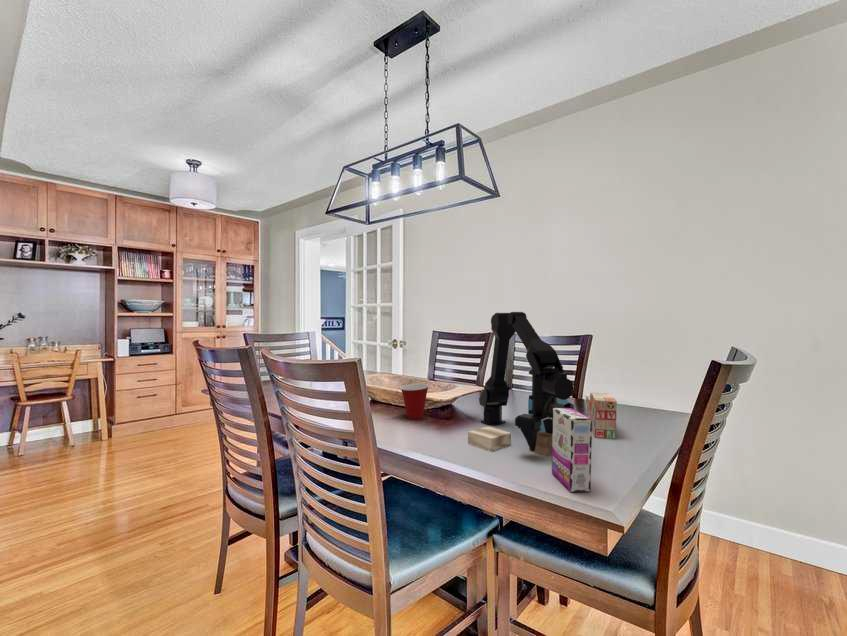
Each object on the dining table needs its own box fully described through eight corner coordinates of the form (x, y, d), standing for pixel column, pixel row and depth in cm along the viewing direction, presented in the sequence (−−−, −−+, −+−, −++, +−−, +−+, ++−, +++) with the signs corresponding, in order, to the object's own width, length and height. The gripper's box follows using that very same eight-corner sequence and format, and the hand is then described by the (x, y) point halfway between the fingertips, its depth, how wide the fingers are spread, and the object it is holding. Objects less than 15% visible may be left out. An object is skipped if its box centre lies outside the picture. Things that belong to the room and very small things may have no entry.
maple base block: (487, 438, 132) (487, 426, 132) (510, 446, 125) (511, 432, 125) (467, 444, 126) (468, 431, 126) (490, 452, 120) (491, 438, 119)
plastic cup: (400, 413, 162) (400, 382, 161) (428, 413, 162) (428, 382, 161) (398, 421, 151) (398, 388, 151) (428, 421, 151) (429, 388, 151)
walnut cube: (538, 447, 123) (539, 430, 123) (554, 452, 120) (554, 434, 120) (529, 451, 120) (529, 434, 120) (545, 456, 116) (545, 438, 116)
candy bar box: (592, 492, 93) (593, 418, 93) (570, 493, 93) (571, 419, 92) (570, 472, 104) (571, 406, 104) (550, 473, 104) (551, 407, 103)
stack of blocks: (585, 420, 153) (586, 387, 153) (604, 422, 152) (604, 387, 151) (594, 438, 132) (595, 399, 132) (616, 440, 131) (617, 400, 131)
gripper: (550, 402, 107) (550, 463, 107) (585, 392, 120) (584, 446, 120) (514, 395, 115) (513, 452, 116) (549, 386, 128) (549, 437, 128)
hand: (541, 447), depth 120 cm, fingers open, 9 cm apart
